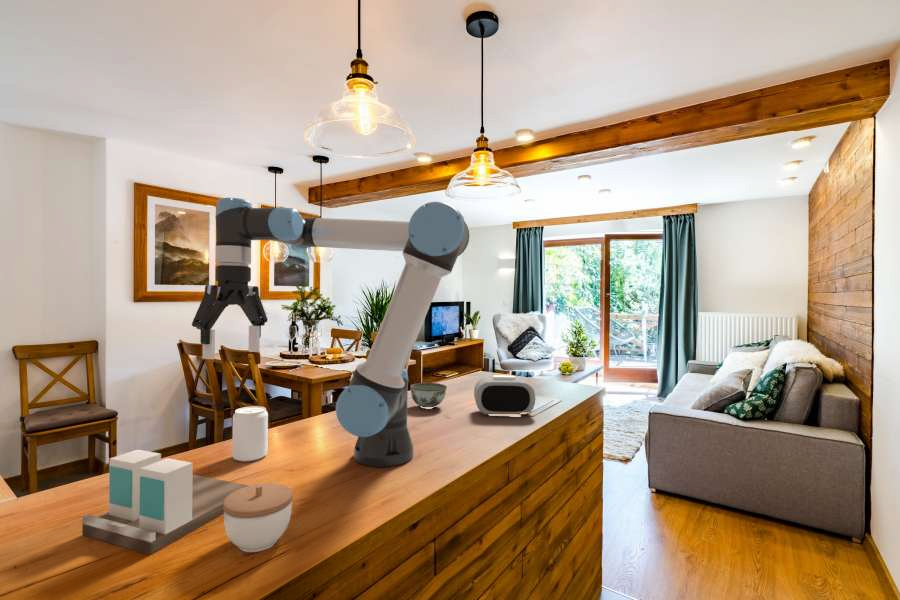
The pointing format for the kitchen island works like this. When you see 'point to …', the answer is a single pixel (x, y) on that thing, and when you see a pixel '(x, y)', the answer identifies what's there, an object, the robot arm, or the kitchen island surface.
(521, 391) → the alarm clock
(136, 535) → the shelf board
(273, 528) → the lidded jar
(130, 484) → the tall carton
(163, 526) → the faced carton
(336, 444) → the kitchen island surface
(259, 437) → the beverage can
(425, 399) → the bowl
